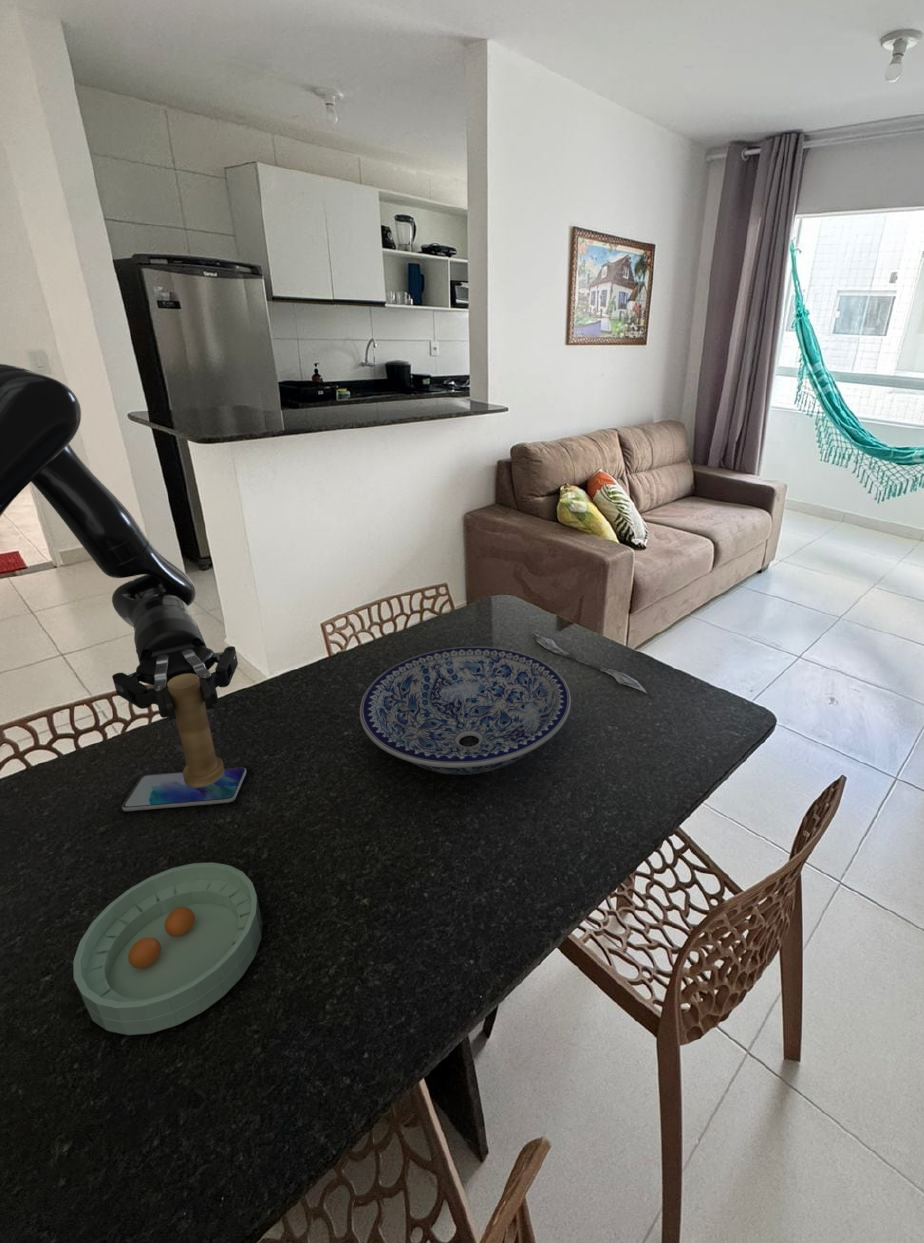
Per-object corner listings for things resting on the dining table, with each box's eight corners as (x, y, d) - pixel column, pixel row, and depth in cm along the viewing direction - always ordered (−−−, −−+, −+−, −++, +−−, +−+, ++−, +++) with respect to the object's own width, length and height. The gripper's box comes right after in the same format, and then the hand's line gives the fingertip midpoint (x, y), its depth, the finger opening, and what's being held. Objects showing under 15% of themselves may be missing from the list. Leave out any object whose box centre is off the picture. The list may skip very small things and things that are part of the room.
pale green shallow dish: (48, 992, 67) (34, 961, 65) (194, 871, 81) (186, 843, 79) (159, 1069, 61) (148, 1038, 59) (295, 924, 76) (289, 895, 74)
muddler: (176, 780, 77) (151, 685, 72) (207, 759, 81) (187, 666, 75) (201, 792, 76) (179, 695, 70) (232, 769, 80) (213, 676, 74)
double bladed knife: (534, 633, 144) (521, 641, 140) (535, 631, 143) (521, 639, 140) (657, 685, 127) (645, 696, 123) (657, 682, 127) (645, 693, 123)
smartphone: (141, 774, 96) (247, 766, 98) (142, 779, 96) (248, 771, 99) (119, 808, 89) (233, 799, 92) (120, 813, 89) (234, 803, 92)
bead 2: (161, 935, 73) (155, 918, 72) (185, 914, 75) (180, 897, 74) (179, 946, 72) (174, 928, 70) (202, 924, 74) (198, 907, 73)
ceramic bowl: (509, 668, 130) (510, 626, 126) (607, 767, 104) (612, 718, 100) (339, 718, 112) (333, 670, 108) (407, 852, 86) (403, 796, 82)
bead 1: (125, 967, 69) (118, 949, 68) (151, 944, 72) (145, 926, 71) (143, 979, 68) (137, 961, 67) (169, 955, 71) (164, 937, 69)
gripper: (98, 631, 78) (107, 699, 66) (223, 605, 86) (252, 662, 74) (112, 681, 81) (124, 756, 69) (232, 652, 89) (261, 714, 77)
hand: (190, 707), depth 71 cm, fingers closed on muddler, 3 cm apart
